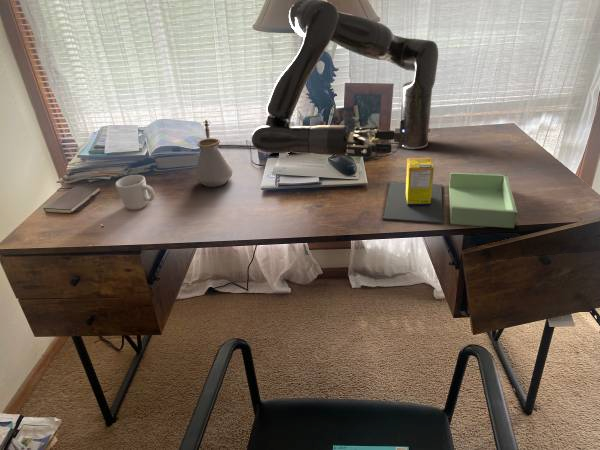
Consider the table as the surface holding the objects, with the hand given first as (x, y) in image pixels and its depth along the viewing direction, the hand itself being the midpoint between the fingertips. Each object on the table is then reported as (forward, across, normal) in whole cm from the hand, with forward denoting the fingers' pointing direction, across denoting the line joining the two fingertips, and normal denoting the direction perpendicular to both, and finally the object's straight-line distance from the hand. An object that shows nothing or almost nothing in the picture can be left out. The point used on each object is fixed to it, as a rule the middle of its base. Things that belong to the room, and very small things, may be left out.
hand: (392, 141), depth 108 cm
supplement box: (+7, 0, +16) cm, 18 cm away
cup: (-69, -12, +16) cm, 72 cm away
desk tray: (+22, 0, +17) cm, 28 cm away
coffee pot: (-56, +10, +17) cm, 59 cm away
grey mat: (+6, 0, +17) cm, 18 cm away
